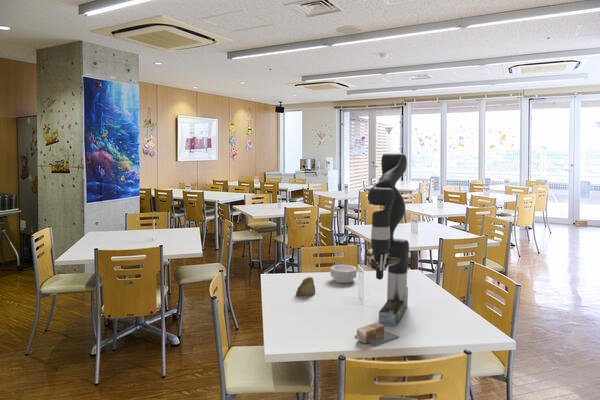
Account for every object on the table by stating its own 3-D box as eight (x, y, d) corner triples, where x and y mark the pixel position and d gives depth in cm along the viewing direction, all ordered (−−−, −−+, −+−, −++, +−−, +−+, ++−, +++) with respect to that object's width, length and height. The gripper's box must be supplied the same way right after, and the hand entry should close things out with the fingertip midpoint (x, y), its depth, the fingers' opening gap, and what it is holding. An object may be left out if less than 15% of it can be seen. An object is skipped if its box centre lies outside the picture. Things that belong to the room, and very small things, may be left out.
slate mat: (378, 329, 193) (378, 327, 193) (398, 337, 185) (398, 335, 185) (354, 337, 185) (354, 335, 185) (375, 346, 176) (375, 344, 176)
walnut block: (375, 322, 187) (356, 328, 180) (384, 325, 183) (365, 332, 177) (375, 333, 187) (356, 339, 181) (383, 336, 184) (364, 343, 177)
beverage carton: (377, 324, 199) (378, 309, 198) (387, 310, 217) (388, 297, 216) (395, 327, 196) (396, 312, 195) (404, 313, 213) (405, 299, 213)
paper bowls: (357, 284, 258) (358, 271, 258) (331, 284, 259) (331, 270, 258) (355, 277, 274) (355, 264, 273) (329, 277, 274) (329, 264, 273)
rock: (293, 293, 234) (312, 292, 232) (293, 277, 238) (312, 276, 237) (298, 300, 243) (316, 299, 241) (298, 285, 247) (316, 283, 246)
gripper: (376, 240, 177) (375, 284, 179) (398, 236, 185) (397, 278, 187) (362, 237, 183) (361, 279, 185) (384, 233, 191) (383, 274, 193)
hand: (379, 278), depth 186 cm, fingers closed
